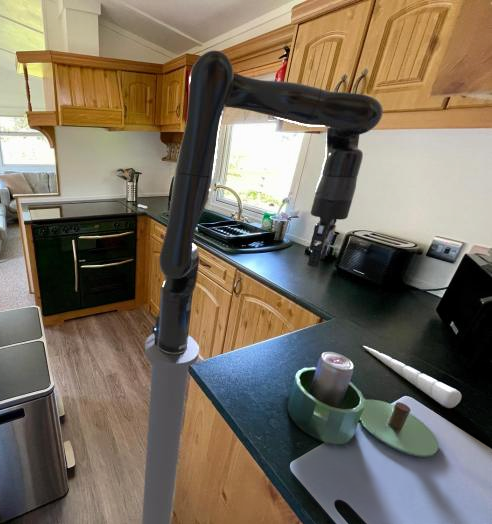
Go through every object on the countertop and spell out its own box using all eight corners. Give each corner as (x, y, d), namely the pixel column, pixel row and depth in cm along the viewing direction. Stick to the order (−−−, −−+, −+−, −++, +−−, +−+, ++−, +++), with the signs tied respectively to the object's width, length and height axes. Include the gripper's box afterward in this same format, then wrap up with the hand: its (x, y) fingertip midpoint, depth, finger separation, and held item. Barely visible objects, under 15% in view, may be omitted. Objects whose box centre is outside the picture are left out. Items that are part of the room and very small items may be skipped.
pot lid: (352, 430, 61) (361, 408, 59) (358, 394, 71) (365, 374, 69) (440, 473, 53) (453, 450, 51) (432, 425, 63) (443, 404, 61)
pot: (277, 428, 61) (285, 396, 58) (297, 382, 75) (305, 354, 72) (347, 467, 54) (361, 434, 51) (356, 408, 67) (367, 379, 64)
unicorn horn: (373, 346, 90) (378, 333, 89) (459, 408, 68) (468, 393, 67) (359, 347, 90) (364, 334, 88) (441, 410, 68) (450, 394, 66)
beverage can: (299, 404, 67) (315, 350, 62) (325, 405, 67) (343, 351, 62) (312, 426, 61) (331, 369, 56) (340, 428, 61) (362, 371, 56)
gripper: (320, 193, 74) (305, 252, 80) (308, 197, 64) (292, 265, 69) (355, 196, 70) (337, 259, 75) (349, 201, 59) (328, 273, 65)
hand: (316, 262), depth 72 cm, fingers open, 8 cm apart
